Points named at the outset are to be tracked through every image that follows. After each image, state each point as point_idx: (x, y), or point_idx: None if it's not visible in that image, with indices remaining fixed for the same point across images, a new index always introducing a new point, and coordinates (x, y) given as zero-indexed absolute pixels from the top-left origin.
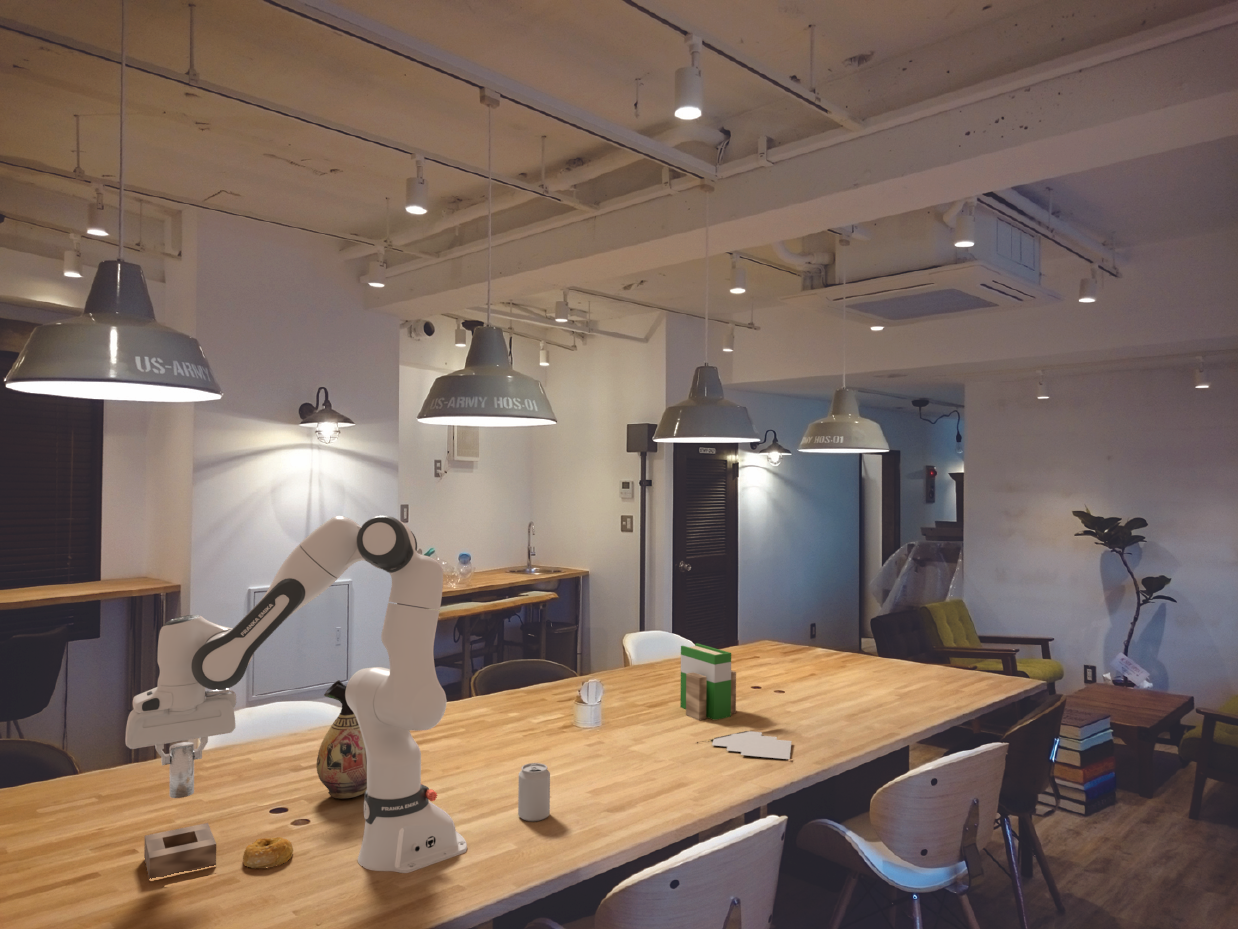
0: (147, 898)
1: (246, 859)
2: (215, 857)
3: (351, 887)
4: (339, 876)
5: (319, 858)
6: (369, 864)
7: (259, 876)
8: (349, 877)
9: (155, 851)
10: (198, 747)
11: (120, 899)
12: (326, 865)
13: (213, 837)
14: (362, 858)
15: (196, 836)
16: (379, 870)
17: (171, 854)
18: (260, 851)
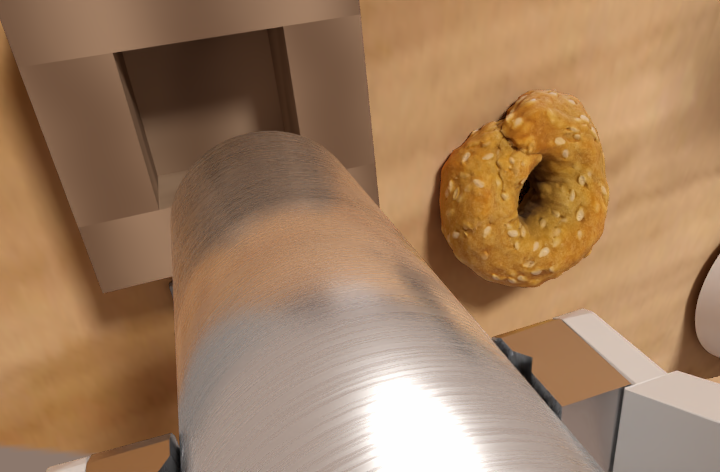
0: (130, 345)
1: (457, 252)
2: None
3: None
4: (635, 335)
5: (636, 217)
6: (711, 343)
7: (468, 284)
8: (650, 344)
9: (114, 229)
10: (650, 422)
11: (25, 333)
12: (634, 267)
13: (373, 153)
14: (714, 322)
15: (297, 110)
16: (713, 354)
17: None
18: (511, 278)
